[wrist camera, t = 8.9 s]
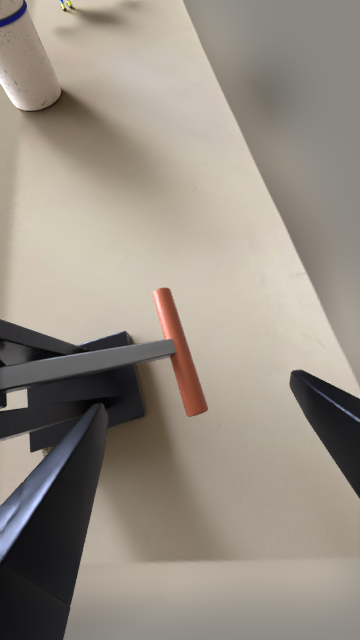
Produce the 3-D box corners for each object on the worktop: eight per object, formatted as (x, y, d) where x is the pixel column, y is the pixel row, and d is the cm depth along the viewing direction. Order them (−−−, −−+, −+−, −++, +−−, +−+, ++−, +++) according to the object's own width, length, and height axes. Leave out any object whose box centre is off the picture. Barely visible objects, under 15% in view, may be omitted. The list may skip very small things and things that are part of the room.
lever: (163, 299, 17) (175, 283, 15) (197, 410, 14) (217, 408, 12) (-67, 309, 10) (-99, 283, 8) (-90, 527, 7) (-146, 564, 5)
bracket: (129, 333, 21) (35, 254, 8) (147, 414, 18) (53, 476, 6) (34, 362, 20) (-218, 325, 8) (40, 448, 18) (-315, 599, 5)
